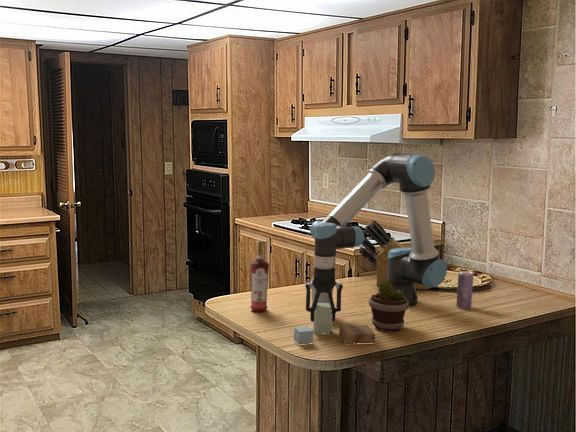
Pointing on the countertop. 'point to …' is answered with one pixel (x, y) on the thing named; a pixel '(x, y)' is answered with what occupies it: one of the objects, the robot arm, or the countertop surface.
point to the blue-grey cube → (303, 335)
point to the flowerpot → (388, 307)
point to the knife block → (380, 251)
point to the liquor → (259, 280)
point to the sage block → (323, 318)
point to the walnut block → (357, 334)
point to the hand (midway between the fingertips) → (322, 329)
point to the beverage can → (464, 290)
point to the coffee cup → (323, 296)
